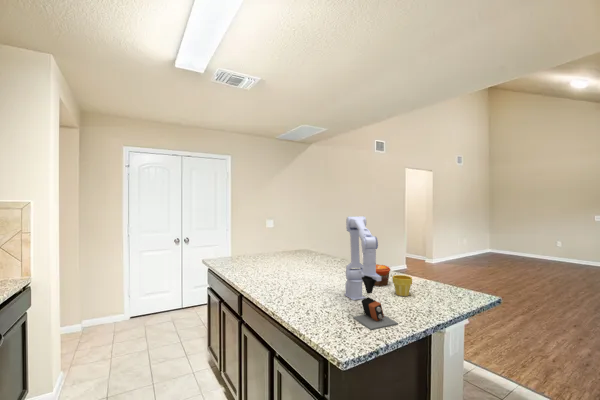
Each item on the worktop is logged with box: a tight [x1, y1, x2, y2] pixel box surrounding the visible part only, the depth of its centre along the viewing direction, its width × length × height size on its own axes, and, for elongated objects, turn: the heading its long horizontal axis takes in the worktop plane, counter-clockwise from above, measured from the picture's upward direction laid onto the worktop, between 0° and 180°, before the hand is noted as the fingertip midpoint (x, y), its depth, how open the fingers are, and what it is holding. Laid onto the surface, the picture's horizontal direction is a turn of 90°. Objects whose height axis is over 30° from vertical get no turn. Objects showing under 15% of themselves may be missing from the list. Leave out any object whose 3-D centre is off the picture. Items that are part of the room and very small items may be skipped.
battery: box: [361, 296, 385, 321], centre depth 126 cm, size 4×7×10 cm
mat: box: [352, 313, 399, 331], centre depth 124 cm, size 13×14×1 cm
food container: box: [374, 263, 392, 287], centre depth 181 cm, size 16×16×11 cm
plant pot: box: [392, 274, 413, 297], centre depth 160 cm, size 10×10×10 cm
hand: (369, 293), depth 130 cm, fingers closed
